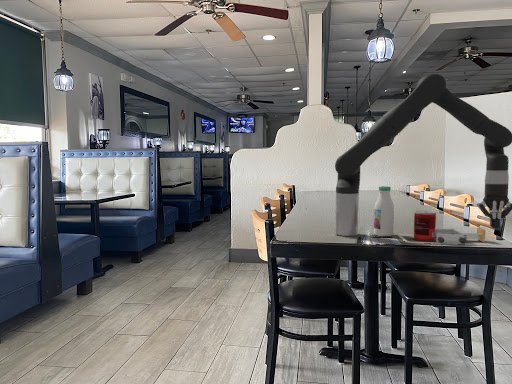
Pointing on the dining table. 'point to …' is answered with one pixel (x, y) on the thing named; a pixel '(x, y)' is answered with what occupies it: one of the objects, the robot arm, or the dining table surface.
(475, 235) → the trolley
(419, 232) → the canned food
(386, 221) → the milk bottle
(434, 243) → the track
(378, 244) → the dining table surface
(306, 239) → the dining table surface
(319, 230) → the dining table surface
